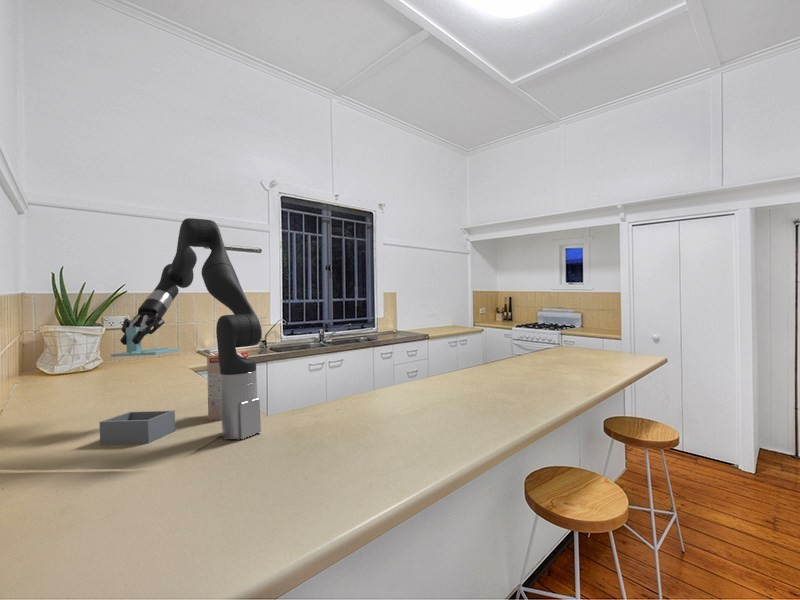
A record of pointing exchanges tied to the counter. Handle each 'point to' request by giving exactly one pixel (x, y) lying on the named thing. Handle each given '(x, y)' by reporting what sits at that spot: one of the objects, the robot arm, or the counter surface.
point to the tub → (137, 427)
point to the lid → (136, 348)
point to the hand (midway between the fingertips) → (128, 342)
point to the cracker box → (216, 386)
